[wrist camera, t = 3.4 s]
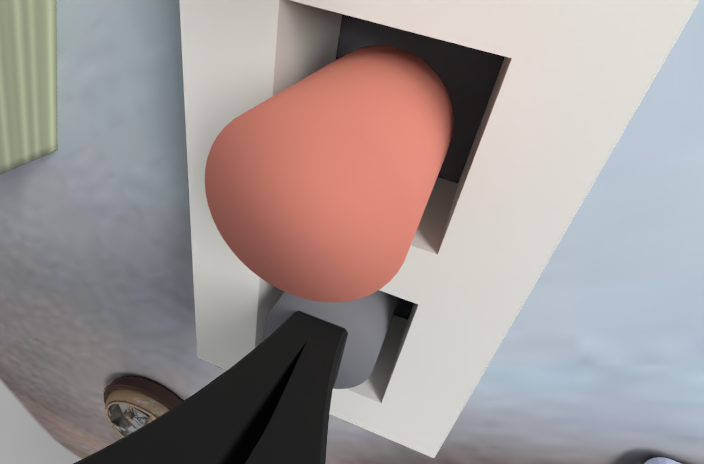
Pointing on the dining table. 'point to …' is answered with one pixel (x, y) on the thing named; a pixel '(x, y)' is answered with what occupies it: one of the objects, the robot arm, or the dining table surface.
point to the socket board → (446, 197)
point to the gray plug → (356, 317)
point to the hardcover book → (27, 81)
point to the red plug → (332, 174)
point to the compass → (136, 403)
